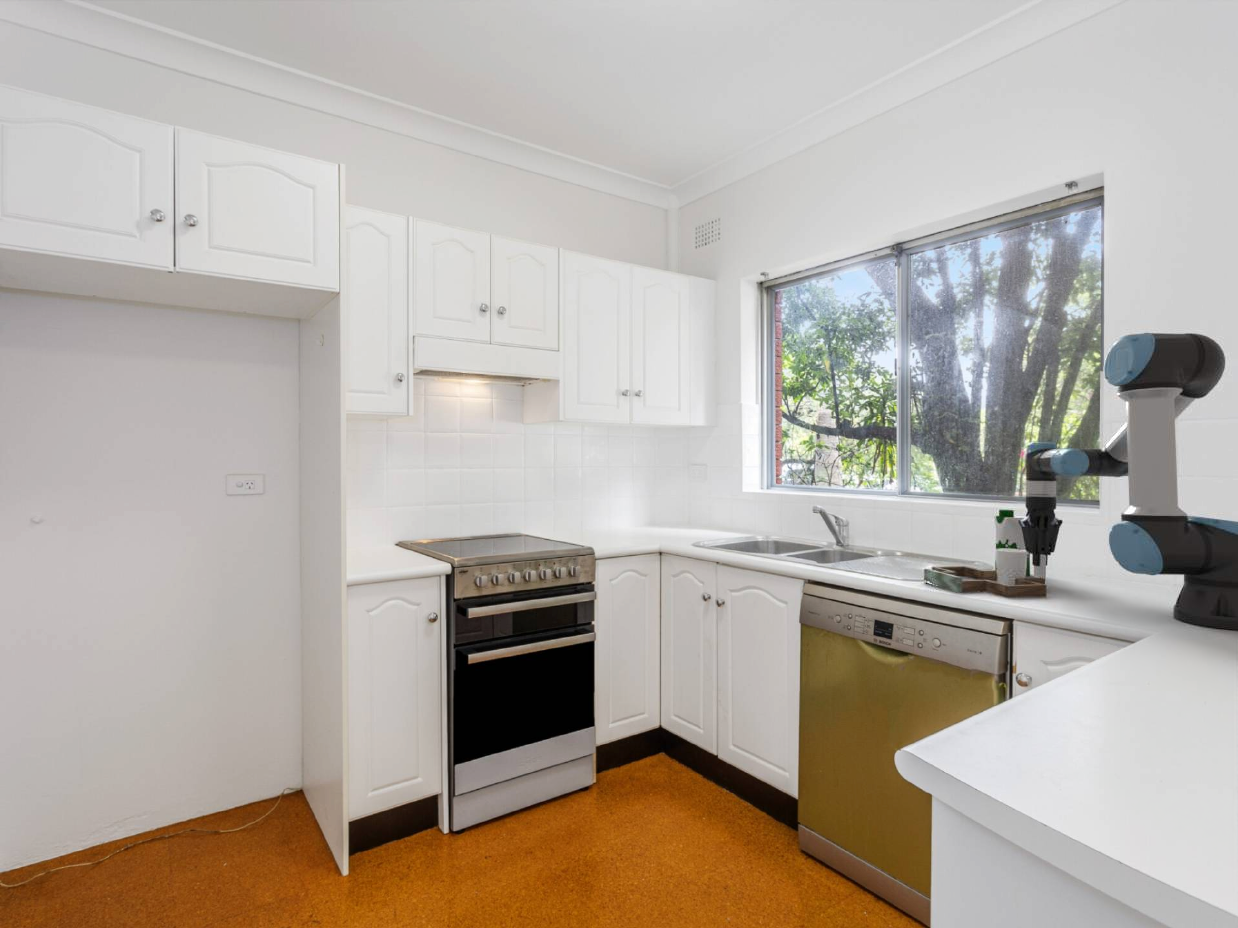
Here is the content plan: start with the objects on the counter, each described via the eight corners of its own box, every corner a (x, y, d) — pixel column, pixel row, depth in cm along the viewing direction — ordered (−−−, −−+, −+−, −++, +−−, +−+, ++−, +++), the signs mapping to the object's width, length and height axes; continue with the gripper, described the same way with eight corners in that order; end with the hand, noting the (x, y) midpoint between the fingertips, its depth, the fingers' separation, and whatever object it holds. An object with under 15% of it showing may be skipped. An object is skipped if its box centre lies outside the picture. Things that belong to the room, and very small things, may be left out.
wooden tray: (1070, 595, 178) (1070, 580, 178) (979, 598, 173) (979, 583, 173) (985, 574, 208) (986, 562, 208) (906, 577, 203) (907, 564, 203)
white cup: (1018, 582, 196) (1019, 548, 196) (1032, 588, 188) (1033, 552, 188) (990, 582, 197) (990, 547, 197) (1003, 587, 189) (1003, 551, 189)
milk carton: (990, 571, 215) (991, 509, 215) (1019, 571, 215) (1019, 509, 215) (1005, 576, 207) (1006, 511, 206) (1035, 576, 206) (1036, 511, 206)
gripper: (1049, 494, 199) (1048, 574, 199) (1011, 494, 196) (1010, 575, 197) (1071, 496, 191) (1069, 578, 192) (1031, 496, 189) (1030, 580, 189)
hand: (1039, 577), depth 194 cm, fingers closed
